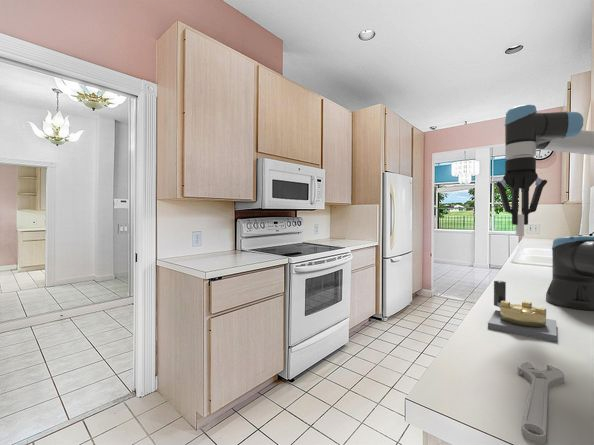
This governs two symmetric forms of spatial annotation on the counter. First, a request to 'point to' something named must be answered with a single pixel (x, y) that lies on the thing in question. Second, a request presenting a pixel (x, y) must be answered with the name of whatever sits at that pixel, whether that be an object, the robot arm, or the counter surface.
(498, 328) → the base
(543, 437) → the adjustable wrench
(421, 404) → the counter surface
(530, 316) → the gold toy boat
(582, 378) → the counter surface
